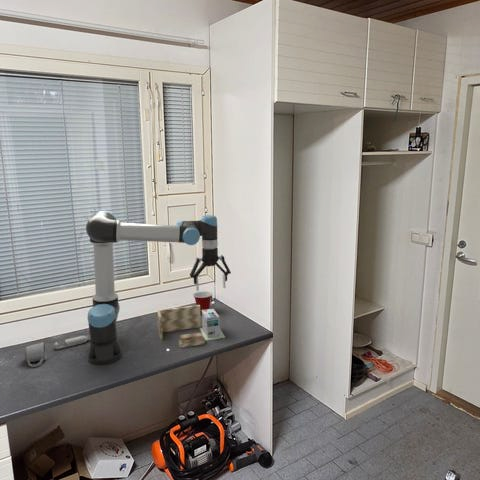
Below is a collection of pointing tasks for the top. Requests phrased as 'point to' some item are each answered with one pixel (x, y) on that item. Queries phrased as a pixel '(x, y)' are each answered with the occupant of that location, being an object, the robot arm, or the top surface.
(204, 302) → the plastic cup
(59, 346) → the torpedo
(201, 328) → the mat
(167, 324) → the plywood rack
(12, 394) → the top surface
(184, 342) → the offcut stack
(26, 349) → the ceramic mug
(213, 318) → the light bulb box
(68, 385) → the top surface
